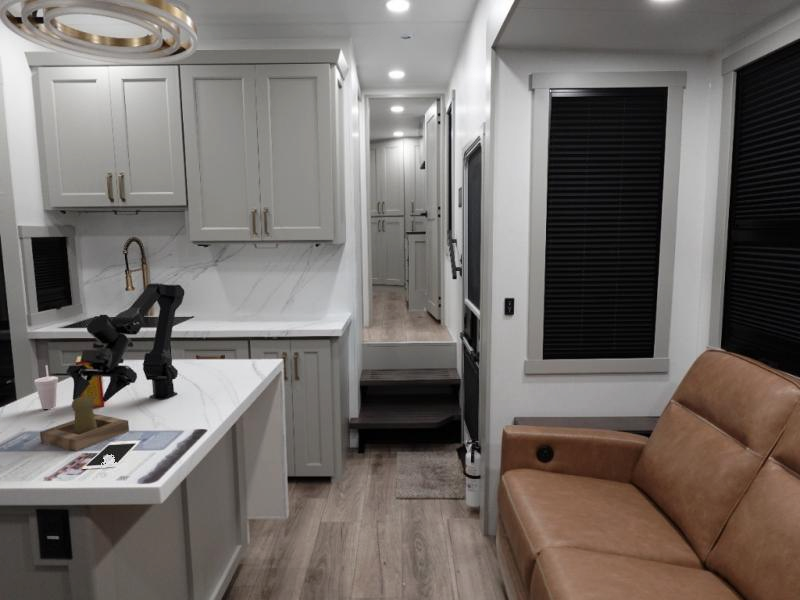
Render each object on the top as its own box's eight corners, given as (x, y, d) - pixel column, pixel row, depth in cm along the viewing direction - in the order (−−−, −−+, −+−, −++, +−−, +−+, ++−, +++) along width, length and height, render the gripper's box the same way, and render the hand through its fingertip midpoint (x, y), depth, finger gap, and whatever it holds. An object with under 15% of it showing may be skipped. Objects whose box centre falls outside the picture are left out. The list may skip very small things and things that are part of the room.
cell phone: (141, 442, 138) (141, 440, 138) (116, 469, 122) (115, 466, 122) (110, 444, 137) (110, 441, 137) (81, 471, 121) (80, 468, 121)
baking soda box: (82, 402, 172) (77, 355, 170) (104, 398, 175) (100, 352, 173) (80, 410, 164) (75, 361, 162) (104, 406, 167) (99, 358, 165)
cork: (76, 442, 138) (72, 402, 136) (71, 436, 142) (67, 397, 141) (101, 436, 142) (97, 397, 140) (95, 430, 146) (92, 392, 145)
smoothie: (65, 406, 168) (60, 364, 166) (45, 412, 162) (40, 369, 160) (53, 403, 171) (48, 362, 169) (32, 409, 165) (27, 367, 163)
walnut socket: (40, 442, 138) (39, 431, 138) (94, 423, 152) (93, 413, 151) (76, 451, 132) (75, 440, 132) (129, 430, 145) (128, 420, 145)
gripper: (67, 337, 147) (39, 386, 138) (126, 337, 144) (102, 388, 135) (90, 357, 156) (66, 404, 147) (146, 358, 153) (125, 406, 144)
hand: (89, 400), depth 143 cm, fingers open, 9 cm apart
